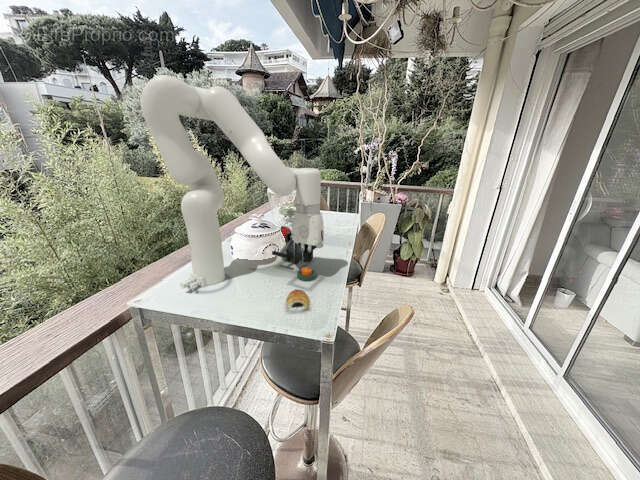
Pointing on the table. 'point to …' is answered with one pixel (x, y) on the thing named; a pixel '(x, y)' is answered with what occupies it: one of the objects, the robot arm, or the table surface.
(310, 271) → the button
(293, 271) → the table surface
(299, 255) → the bracket
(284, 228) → the tomato
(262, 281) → the table surface
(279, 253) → the lever
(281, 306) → the table surface
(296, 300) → the pastry
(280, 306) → the table surface
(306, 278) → the button box
